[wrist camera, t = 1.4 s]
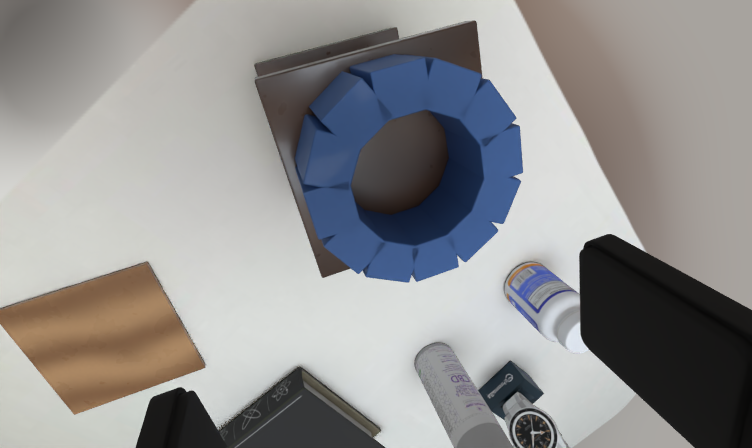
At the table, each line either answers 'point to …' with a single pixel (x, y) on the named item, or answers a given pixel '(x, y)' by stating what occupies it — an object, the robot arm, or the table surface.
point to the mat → (103, 337)
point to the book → (300, 419)
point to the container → (458, 400)
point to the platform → (390, 144)
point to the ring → (459, 181)
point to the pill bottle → (547, 304)
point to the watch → (521, 409)
